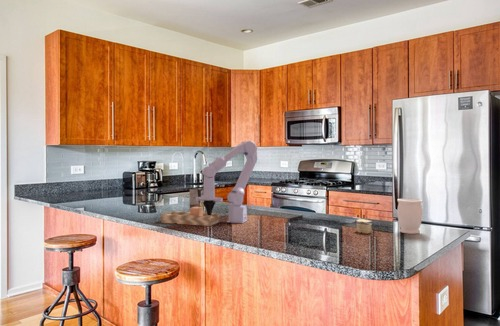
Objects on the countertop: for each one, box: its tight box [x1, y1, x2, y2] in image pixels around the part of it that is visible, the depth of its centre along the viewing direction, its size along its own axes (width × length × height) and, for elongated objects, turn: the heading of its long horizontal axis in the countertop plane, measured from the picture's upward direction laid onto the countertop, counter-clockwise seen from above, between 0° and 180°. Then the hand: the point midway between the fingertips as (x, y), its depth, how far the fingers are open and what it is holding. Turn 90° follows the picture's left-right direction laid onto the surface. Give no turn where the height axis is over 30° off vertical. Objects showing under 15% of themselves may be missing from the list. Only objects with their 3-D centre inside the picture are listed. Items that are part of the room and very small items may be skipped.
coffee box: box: [189, 187, 206, 213], centre depth 218 cm, size 9×6×16 cm
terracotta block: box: [189, 207, 203, 216], centre depth 197 cm, size 5×5×5 cm
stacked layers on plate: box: [355, 218, 373, 234], centre depth 172 cm, size 10×9×6 cm
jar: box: [396, 197, 423, 235], centre depth 170 cm, size 11×10×15 cm
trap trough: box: [160, 210, 220, 227], centre depth 198 cm, size 29×11×4 cm, turn 71°
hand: (209, 215), depth 195 cm, fingers closed
